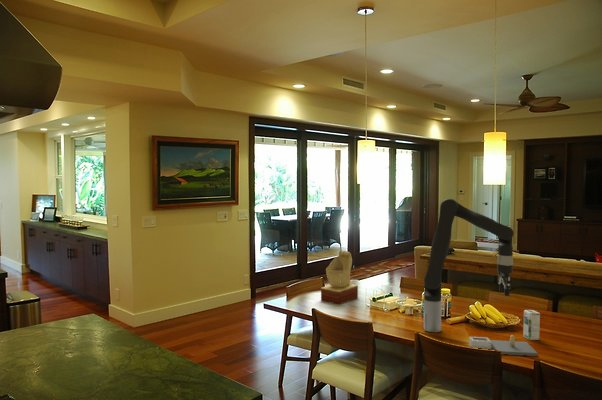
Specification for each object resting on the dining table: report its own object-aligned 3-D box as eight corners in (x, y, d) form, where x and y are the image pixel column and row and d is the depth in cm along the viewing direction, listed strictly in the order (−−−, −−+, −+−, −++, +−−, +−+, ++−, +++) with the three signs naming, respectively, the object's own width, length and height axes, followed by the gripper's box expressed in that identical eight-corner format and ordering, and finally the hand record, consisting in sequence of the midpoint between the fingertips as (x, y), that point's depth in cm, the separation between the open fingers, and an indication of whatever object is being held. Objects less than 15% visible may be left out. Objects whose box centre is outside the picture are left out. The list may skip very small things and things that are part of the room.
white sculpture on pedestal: (340, 293, 325) (340, 247, 324) (360, 297, 314) (360, 250, 313) (320, 300, 307) (320, 251, 305) (341, 304, 295) (340, 254, 294)
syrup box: (522, 336, 230) (523, 309, 230) (533, 336, 231) (533, 309, 230) (529, 340, 225) (529, 313, 224) (540, 339, 225) (540, 312, 225)
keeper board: (497, 354, 206) (497, 339, 206) (488, 342, 221) (489, 329, 221) (537, 356, 204) (537, 341, 203) (526, 344, 218) (526, 331, 218)
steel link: (471, 348, 214) (471, 340, 214) (469, 344, 220) (469, 336, 219) (490, 349, 212) (491, 341, 212) (487, 345, 218) (487, 337, 218)
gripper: (493, 260, 235) (492, 290, 235) (501, 265, 221) (501, 296, 221) (507, 261, 234) (507, 290, 234) (517, 266, 220) (516, 297, 220)
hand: (504, 293), depth 228 cm, fingers open, 8 cm apart
